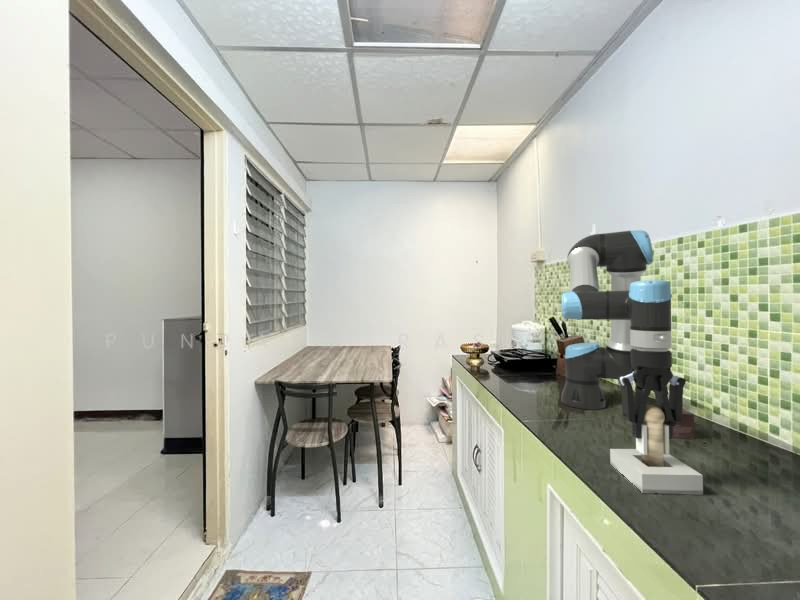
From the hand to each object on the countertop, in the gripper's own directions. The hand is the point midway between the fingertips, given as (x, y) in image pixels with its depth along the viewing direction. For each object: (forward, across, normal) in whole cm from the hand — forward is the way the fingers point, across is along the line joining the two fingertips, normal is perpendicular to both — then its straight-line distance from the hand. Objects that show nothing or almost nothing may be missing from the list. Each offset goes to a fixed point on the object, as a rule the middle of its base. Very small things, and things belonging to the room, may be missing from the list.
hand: (652, 452), depth 76 cm
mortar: (+6, 0, 0) cm, 6 cm away
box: (+6, +24, +26) cm, 35 cm away
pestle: (+3, 0, 0) cm, 3 cm away
